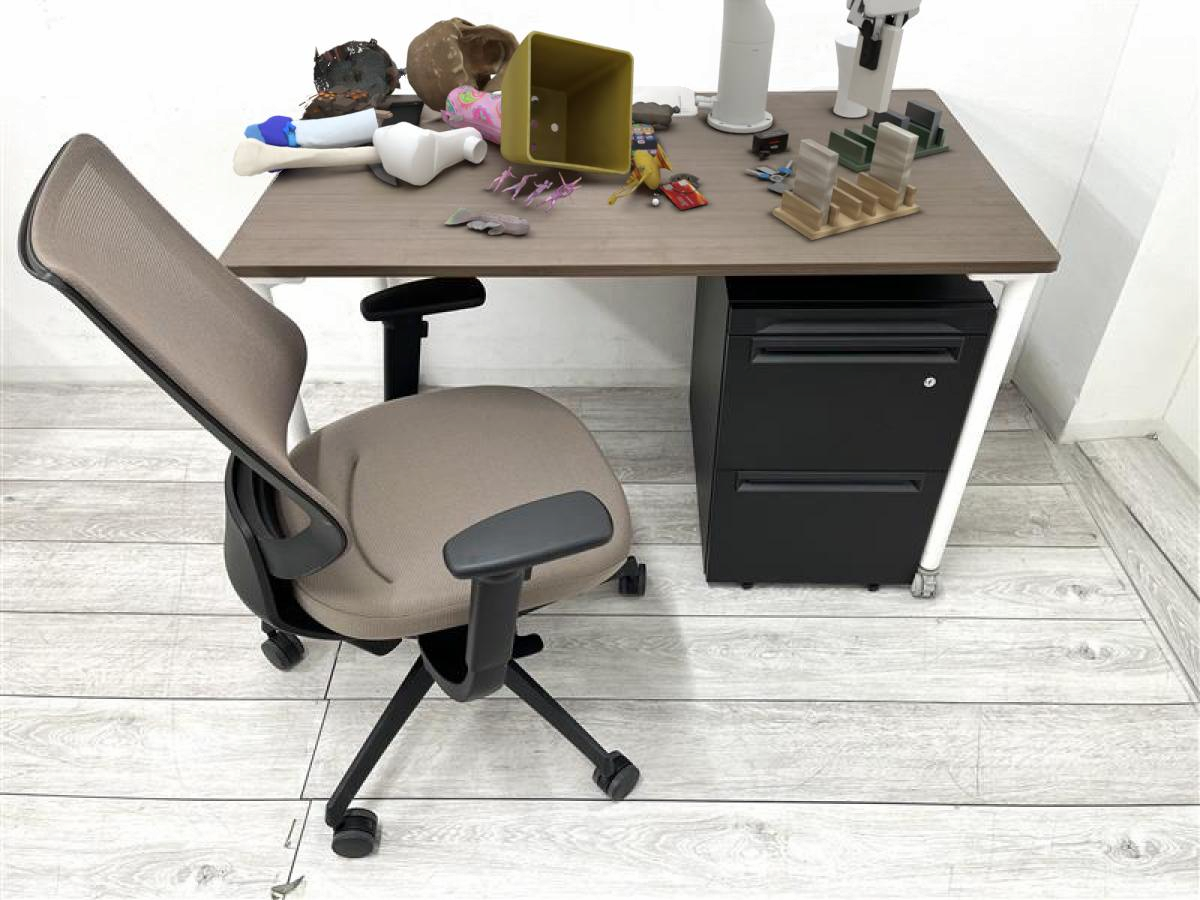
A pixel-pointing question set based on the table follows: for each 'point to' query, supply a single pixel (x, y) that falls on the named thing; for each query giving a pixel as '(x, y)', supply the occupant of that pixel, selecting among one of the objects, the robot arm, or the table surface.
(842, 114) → the cup
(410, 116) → the smartphone
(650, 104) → the rhino figurine
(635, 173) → the magic lamp
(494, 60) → the skull
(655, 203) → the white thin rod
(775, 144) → the wireless earbuds
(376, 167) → the knife
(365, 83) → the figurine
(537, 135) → the flower pot
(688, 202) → the card
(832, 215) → the beige rack
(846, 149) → the green rack
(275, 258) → the table surface
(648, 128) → the smartphone
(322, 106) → the video game creature
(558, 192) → the people figure
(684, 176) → the corroded twin loop
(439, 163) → the white plastic bottle
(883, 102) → the white book
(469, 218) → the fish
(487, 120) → the pencil case
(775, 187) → the key chain
